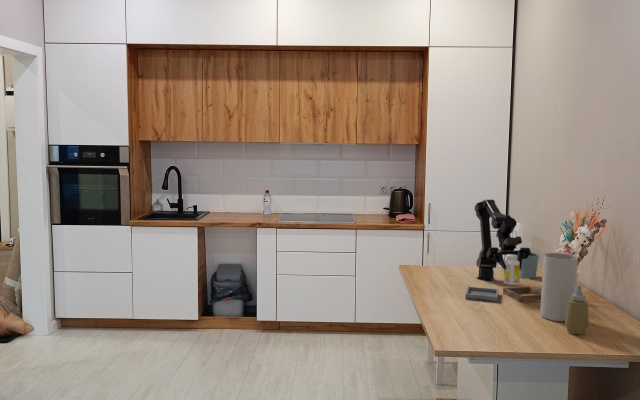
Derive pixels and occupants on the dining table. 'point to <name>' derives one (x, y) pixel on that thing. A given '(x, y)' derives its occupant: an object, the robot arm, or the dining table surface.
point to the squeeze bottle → (577, 313)
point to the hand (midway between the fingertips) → (512, 269)
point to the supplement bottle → (512, 270)
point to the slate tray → (481, 294)
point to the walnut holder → (513, 291)
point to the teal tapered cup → (529, 266)
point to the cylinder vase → (557, 285)
